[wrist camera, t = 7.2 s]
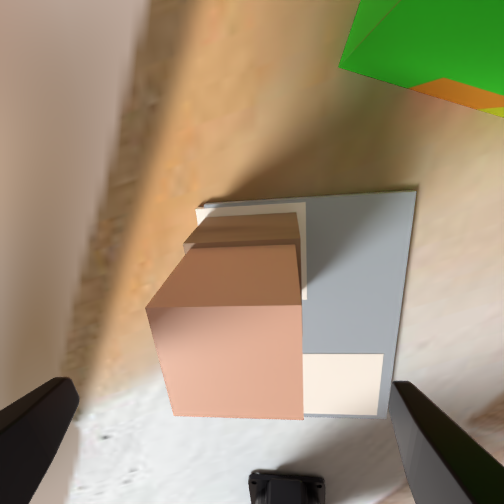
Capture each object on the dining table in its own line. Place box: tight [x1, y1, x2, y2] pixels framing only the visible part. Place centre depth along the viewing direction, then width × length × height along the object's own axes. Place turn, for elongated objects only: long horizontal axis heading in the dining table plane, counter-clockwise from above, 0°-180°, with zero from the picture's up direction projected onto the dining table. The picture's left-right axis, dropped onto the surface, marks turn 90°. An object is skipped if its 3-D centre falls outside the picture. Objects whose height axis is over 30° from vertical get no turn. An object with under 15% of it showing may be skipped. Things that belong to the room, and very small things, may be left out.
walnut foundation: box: [183, 212, 303, 337], centre depth 15 cm, size 5×5×4 cm
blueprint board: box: [195, 190, 417, 419], centre depth 19 cm, size 16×12×1 cm
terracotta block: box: [145, 244, 304, 420], centre depth 11 cm, size 4×4×4 cm
